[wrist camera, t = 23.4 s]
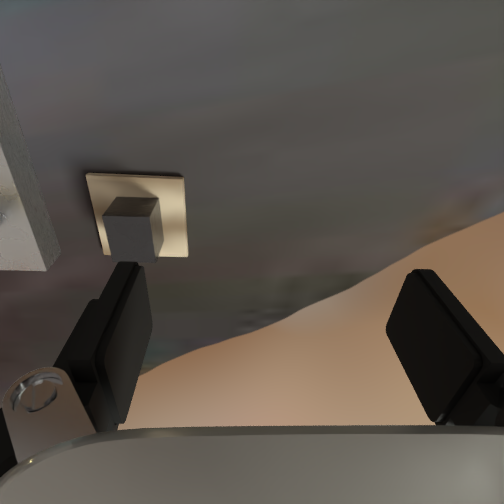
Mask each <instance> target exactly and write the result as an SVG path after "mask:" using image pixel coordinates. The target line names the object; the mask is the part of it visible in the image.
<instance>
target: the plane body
mask: <svg viewBox="0 0 504 504" xmlns="http://www.w3.org/2000/svg"><path fill="white" fill-rule="evenodd" d="M60 254H61V251H60V248H59V244H58V241H57V238H56V235H55V232H54V229H53V226H52V223H51V220H50V217H49V213H48V210H47V207H46V204H45V201H44V198H43V195H42V192H41V189H40V186H39V182H38V179H37V176H36V173H35V170H34V167H33V164H32V161H31V158H30V155H29V151H28V148H27V145H26V142H25V139H24V136H23V133H22V130H21V127H20V124H19V120H18V117H17V114H16V111H15V108H14V105H13V102H12V99H11V96H10V93H9V89H8V86H7V83H6V80H5V77H4V74H3V71H2V68H1V65H0V270H25V271H47V270H48V269H49V268H50V266H51V265H52V264H53V263H54V262H55V260H56V259H57V258H58V257H59V255H60Z"/></svg>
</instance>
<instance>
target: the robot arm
mask: <svg viewBox="0 0 504 504" xmlns="http://www.w3.org/2000/svg"><path fill="white" fill-rule="evenodd" d="M151 332H152V316H151V310H150V304H149V297H148V291H147V284H146V278H145V272H144V267H143V266H139V265H138V263H137V262H132V261H119V262H118V264H117V265H116V267H115V269H114V271H113V273H112V275H111V277H110V279H109V281H108V282H107V284H106V286H105V288H104V290H103V292H102V294H101V296H100V298H99V299H92V300H91V301H90V302H89V303H88V305H87V306H86V308H85V310H84V312H83V314H82V315H81V317H80V319H79V321H78V322H77V324H76V326H75V328H74V330H73V331H72V333H71V335H70V337H69V339H68V340H67V342H66V344H65V346H64V347H63V349H62V351H61V353H60V355H59V356H58V358H57V360H56V362H55V363H54V365H53V367H45V368H39V369H37V370H34V371H31V372H29V373H27V374H26V375H24V376H22V377H21V378H19V379H18V380H17V381H16V382H15V383H14V384H12V385H11V387H10V388H9V389H8V391H7V392H6V393H5V396H4V398H3V401H2V408H1V409H0V504H504V354H503V353H502V352H501V351H500V349H499V348H498V347H497V346H496V345H495V344H494V342H493V341H492V340H491V339H490V337H489V336H488V335H487V334H486V333H485V332H484V330H483V329H482V328H481V327H480V326H479V324H478V323H477V322H476V321H475V320H474V318H473V317H472V316H471V315H470V314H469V312H467V310H466V309H465V308H464V306H463V305H462V304H461V303H460V302H459V300H458V299H457V298H456V297H455V296H454V295H453V293H452V292H451V291H450V290H449V289H448V287H447V286H446V285H445V284H444V283H443V281H442V280H441V279H440V278H439V277H438V275H437V274H436V273H435V272H434V271H433V270H430V269H415V270H413V271H412V272H411V273H409V274H408V275H407V276H406V279H405V281H404V283H403V286H402V289H401V291H400V293H399V296H398V298H397V301H396V303H395V305H394V308H393V310H392V312H391V315H390V318H389V320H388V322H387V325H386V333H387V336H388V338H389V340H390V342H391V344H392V346H393V348H394V350H395V352H396V354H397V356H398V358H399V360H400V362H401V364H402V366H403V368H404V370H405V372H406V374H407V376H408V378H409V380H410V382H411V384H412V386H413V388H414V390H415V392H416V394H417V396H418V398H419V400H420V402H421V403H422V406H423V408H424V410H425V412H426V414H427V416H428V417H429V419H430V420H431V421H432V422H435V424H436V425H416V426H415V425H381V426H380V425H364V426H363V425H361V426H360V425H359V426H358V425H355V426H354V425H352V426H233V427H232V426H231V427H230V426H228V427H173V428H141V429H127V430H117V428H118V425H119V424H123V423H124V422H125V421H126V418H127V414H128V411H129V407H130V404H131V401H132V397H133V394H134V390H135V387H136V383H137V380H138V377H139V373H140V370H141V366H142V363H143V359H144V356H145V353H146V349H147V346H148V342H149V339H150V335H151Z"/></svg>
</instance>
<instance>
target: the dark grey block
mask: <svg viewBox="0 0 504 504" xmlns="http://www.w3.org/2000/svg"><path fill="white" fill-rule="evenodd" d="M102 219H103V223H104V227H105V231H106V236H107V240H108V244H109V248H110V253H111V257H112V261H113V262H119V261H132V262H151V263H156V262H157V259H158V256H159V253H160V250H161V248H162V245H163V242H164V235H163V227H162V218H161V210H160V202H159V198H149V197H116V198H115V199H114V201H113V202H112V203H111V205H110V206H109V207H108V208H107V210H106V211H105V212H104V214H103V215H102Z"/></svg>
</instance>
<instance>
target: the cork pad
mask: <svg viewBox="0 0 504 504" xmlns="http://www.w3.org/2000/svg"><path fill="white" fill-rule="evenodd" d="M86 179H87V184H88V188H89V192H90V196H91V201H92V205H93V209H94V213H95V218H96V222H97V226H98V230H99V235H100V239H101V243H102V247H103V252H104V255H111V253H110V248H109V244H108V240H107V236H106V231H105V227H104V223H103V219H102V215H103V214H104V212H105V211H106V210H107V208H108V207H109V206H110V205H111V203H112V202H113V201H114V199H115V198H116V197H149V198H159V202H160V210H161V218H162V227H163V235H164V242H163V245H162V248H161V250H160V253H159V256H169V257H188V241H187V224H186V207H185V190H184V177H173V176H150V175H127V174H104V173H87V174H86Z"/></svg>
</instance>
